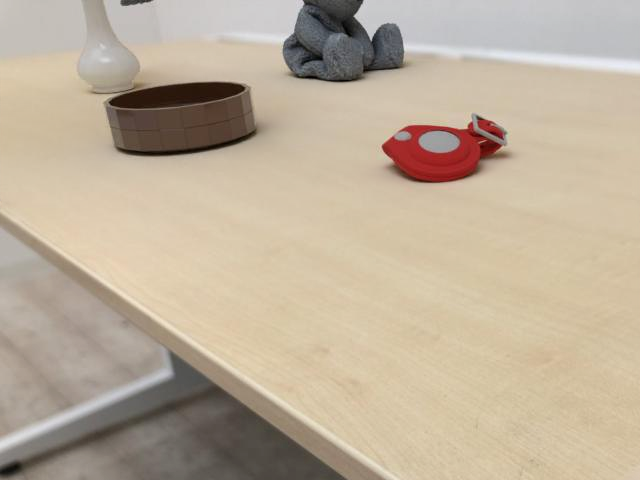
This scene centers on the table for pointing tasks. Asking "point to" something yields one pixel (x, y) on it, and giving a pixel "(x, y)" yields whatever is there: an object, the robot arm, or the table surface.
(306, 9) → the koala plush
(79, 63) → the flower vase
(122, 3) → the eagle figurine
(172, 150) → the bowl
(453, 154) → the tracker holder
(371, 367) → the table surface
